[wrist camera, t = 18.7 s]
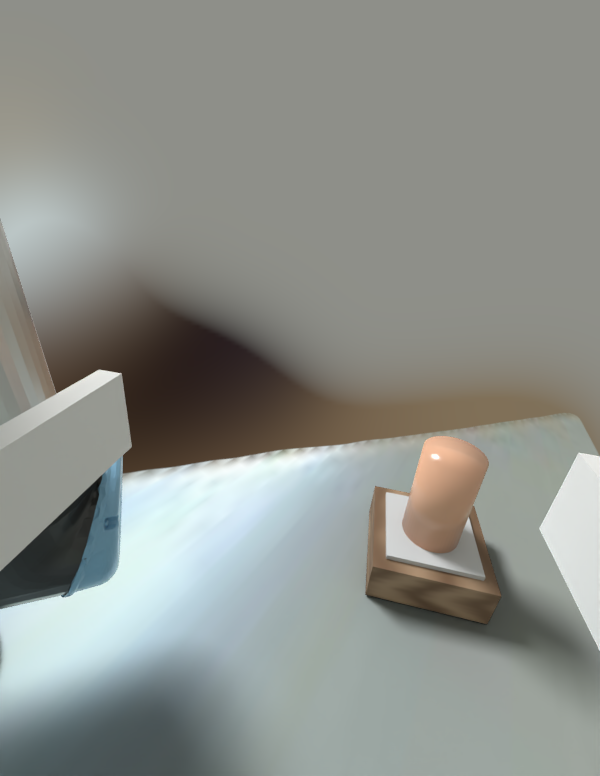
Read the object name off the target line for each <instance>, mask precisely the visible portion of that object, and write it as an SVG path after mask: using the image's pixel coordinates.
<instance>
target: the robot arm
mask: <svg viewBox="0 0 600 776" xmlns="http://www.w3.org/2000/svg"><path fill="white" fill-rule="evenodd" d="M131 447H132V445H131V438H130V431H129V424H128V417H127V409H126V402H125V395H124V388H123V381H122V374H120V373H115V372H108V371H103V370H98V371H96V372H94V373H93V374H91V375H89V376H87V377H86V378H84V379H82V380H80V381H79V382H77V383H75V384H73V385H71V386H70V387H68V388H66V389H64V390H63V391H61V392H59V393H57V394H56V392H55V388H54V385H53V382H52V379H51V376H50V373H49V370H48V367H47V364H46V360H45V357H44V354H43V351H42V348H41V345H40V342H39V338H38V335H37V332H36V329H35V326H34V323H33V320H32V317H31V313H30V311H29V308H28V304H27V301H26V298H25V295H24V292H23V289H22V285H21V282H20V279H19V276H18V273H17V270H16V267H15V264H14V260H13V257H12V254H11V251H10V248H9V245H8V242H7V239H6V236H5V232H4V229H3V226H2V223H1V220H0V609H3V608H7V607H12V606H16V605H20V604H25V603H29V602H34V601H38V600H42V599H47V598H51V597H55V596H60V595H61V596H62V597H69V596H71V595H72V594H73V593H74V592H77V591H80V590H84V589H87V588H91V587H94V586H98V585H101V584H103V583H105V582H107V581H108V580H109V579H110V578H111V577H112V576H113V575H114V574H115V572H116V570H117V568H118V563H119V554H120V533H121V506H122V465H123V459H122V458H123V454H124V453H126V452H127V451H128V450H129V449H130V448H131ZM540 531H541V533H542V535H543V537H544V539H545V541H546V543H547V545H548V547H549V549H550V551H551V553H552V555H553V557H554V559H555V561H556V563H557V565H558V567H559V569H560V572H561V574H562V576H563V578H564V580H565V582H566V584H567V586H568V588H569V590H570V592H571V594H572V596H573V598H574V600H575V602H576V604H577V606H578V608H579V610H580V612H581V614H582V616H583V618H584V620H585V622H586V624H587V626H588V628H589V630H590V632H591V634H592V636H593V638H594V640H595V642H596V644H597V646H598V648H599V650H600V456H595V455H589V454H583V453H578V455H577V457H576V459H575V461H574V463H573V465H572V467H571V469H570V471H569V473H568V474H567V476H566V478H565V480H564V482H563V484H562V486H561V488H560V490H559V492H558V494H557V496H556V498H555V500H554V502H553V503H552V505H551V507H550V509H549V511H548V513H547V515H546V517H545V519H544V521H543V523H542V525H541V527H540Z"/></svg>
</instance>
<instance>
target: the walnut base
mask: <svg viewBox="0 0 600 776" xmlns="http://www.w3.org/2000/svg"><path fill="white" fill-rule="evenodd" d="M409 495H410V493H406V492H401V491H396V490H392V489H387V488H382V487H377V486H375V490H374V494H373V498H372V503H371V507H370V512H369V533H368V553H367V574H366V595H369V596H373V597H377V598H382V599H386V600H390V601H394V602H398V603H402V604H406V605H410V606H414V607H419V608H423V609H427V610H431V611H435V612H439V613H443V614H447V615H451V616H455V617H460V618H464V619H468V620H472V621H476V622H480V623H484V624H488V622H489V620H490V618H491V616H492V614H493V612H494V610H495V608H496V606H497V604H498V602H499V600H500V598H501V593H500V590H499V587H498V583H497V580H496V577H495V573H494V570H493V567H492V563H491V560H490V557H489V554H488V550H487V547H486V544H485V540H484V537H483V534H482V531H481V527H480V524H479V521H478V517H477V514H476V511H475V508H474V506H473V507H472V510H471V512H470V515H469V517H468V520H467V522H466V525H465V527H464V530H463V533H462V535H461V538H460V540H459V543H458V545H457V547H456V548H455V549H454V550H453V551H451V552H448V553H433V552H430V551H427V550H424V549H422V548H420V547H419V546H417V545H416V544H414V543H413V542H412V541H411V540H410V539H409V538H408V537H407V536H406V534H405V532H404V530H403V527H402V520H403V516H404V513H405V509H406V506H407V502H408V499H409Z"/></svg>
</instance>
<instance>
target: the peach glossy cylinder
mask: <svg viewBox="0 0 600 776" xmlns="http://www.w3.org/2000/svg"><path fill="white" fill-rule="evenodd" d="M488 465H489V462H488V459H487V457H486V456H485V454H484V453H483V452H482V451H481V450H479V449H478V448H477V447H475V446H474V445H472V444H470V443H468V442H466V441H463V440H460V439H457V438H453V437H447V436H436V437H431V438H429V439H427V440H426V441H425V443H424V446H423V449H422V453H421V456H420V460H419V463H418V467H417V470H416V474H415V477H414V481H413V484H412V488H411V491H410V495H409V499H408V502H407V506H406V509H405V513H404V516H403V520H402V527H403V530H404V532H405V534H406V536H407V537H408V538H409V539H410V540H411V541H412V542H413V543H414V544H416V545H417V546H419V547H420V548H422V549H424V550H427V551H430V552H433V553H448V552H451V551H453V550H454V549H455V548H456V547H457V545H458V543H459V540H460V538H461V535H462V533H463V530H464V527H465V525H466V522H467V520H468V517H469V515H470V512H471V510H472V507H473V504H474V502H475V499H476V497H477V494H478V492H479V489H480V486H481V484H482V481H483V479H484V476H485V474H486V471H487V468H488Z"/></svg>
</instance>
